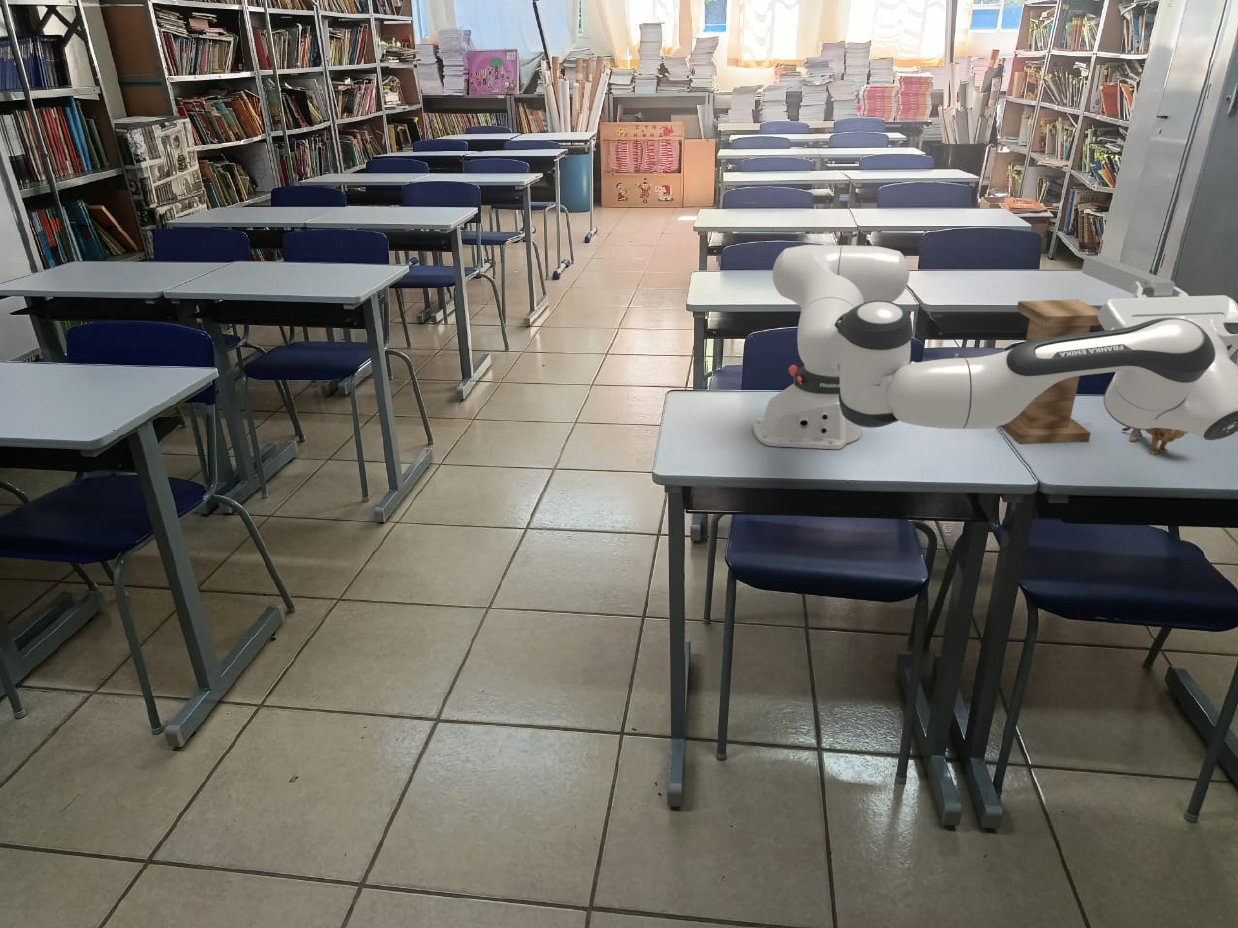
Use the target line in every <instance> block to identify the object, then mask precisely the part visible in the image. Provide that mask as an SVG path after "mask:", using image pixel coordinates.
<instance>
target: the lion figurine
mask: <svg viewBox="0 0 1238 928" xmlns="http://www.w3.org/2000/svg"><path fill="white" fill-rule="evenodd" d="M1131 429H1132V428H1129V427H1123V428H1122V431H1123V432H1126V431H1127V432H1128V431H1130V430H1131ZM1144 431H1145V432H1146V433H1147V434H1148V435H1150V436H1151V445H1150V449H1149V454H1150V455H1153V456H1155V455H1157V454H1158V452H1157V451H1158V450H1159V451H1160V452H1161V453H1165V454H1166V453H1167V452H1168V449H1167V448H1166V445H1167V444H1168V443H1172V442H1175V440H1176V439H1178V440H1179V439H1181V438H1183V437H1185V435H1186V434H1187V435H1188V434H1190V433H1189V432H1185V431H1181V430H1174V429H1165V428H1155V429H1148V430H1144ZM1142 436H1143V433H1142V430H1138V429H1132V430H1131V433H1130V437H1129V442H1131V443H1136V442H1137V438H1136V437H1142ZM1159 441H1161V443H1160V445H1159V448H1158V450H1157V446H1158V444H1159Z"/></svg>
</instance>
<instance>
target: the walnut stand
mask: <svg viewBox="0 0 1238 928" xmlns="http://www.w3.org/2000/svg"><path fill="white" fill-rule="evenodd" d="M1099 311H1100V309H1099V308H1096V307H1094V306H1092V305H1090V304H1088V303H1087V302H1083V301H1082V300H1080V299H1053V300H1049V299H1048V300H1047V299H1045V300H1018V302H1017V307H1016V312H1018V313H1020V314H1021V315H1023V316H1024V317H1027V318H1028V319H1029V322H1028V327H1027V328H1028V329H1027V333H1026V339H1025V343H1027V342H1031V341H1035V340H1040V339H1046V338H1053V337H1060V336H1068V335H1076V334H1083V333H1090V330H1091V326H1102V325H1101V324H1100V322H1099V320H1098V313H1099ZM1080 377H1081V376H1074V377H1070V378H1067V379H1064V380H1062V381H1059V382H1057V383H1055V384H1054V385H1052V386H1051V387H1049V388H1048V389H1046V390H1045V391H1044V392H1042V393H1041V394H1040V395H1039V396H1038V397H1036V398H1035V399H1034V400H1033V401H1032V402H1031V403H1030V404H1029V405H1028V406H1027V407H1026V408H1025V409H1024V410H1023V411H1022V412H1021V413H1020V414H1019V415H1018V416H1017V417H1016V418H1014V419H1013V420H1012V421H1010V422H1008V423H1007V424H1004V425H1001V426H999V427H1000V428H1001V429H1002V430H1003V431H1005V433H1007V434H1008V435H1009V436H1010V437H1011V438H1012V439H1013V440H1015V442H1016V443H1018V444H1020V445H1021V444H1022V445H1024V444H1027V445H1028V444H1056V443H1057V444H1061V443H1063V444H1065V443H1089V442H1090V437H1091V431H1089V430H1088V429H1087V428H1085V427H1084V426H1082V425H1081V424H1080V423H1078V421H1075V419H1073V418H1072V412H1073V408H1074V405H1075V403H1074V402H1075V400H1076V394H1077V390H1078V385H1079V381H1080Z"/></svg>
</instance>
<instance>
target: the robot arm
mask: <svg viewBox="0 0 1238 928" xmlns="http://www.w3.org/2000/svg"><path fill="white" fill-rule="evenodd" d="M909 278H910V266H909V264H908V261H907V259H906V257H905V255H904V254H903V253H902V252H901V251H899V250H895V249H893V248H888V247H883V246H877V245H844V244H843V245H839V244H837V245H836V244H803V245H799V246H798V245H797V246H792V247H786V248H784V249H783V250H782V251H781V252H780V254H779V255H778V256H777V258H776V259H775V262H774V265H773V267H772V281H773V284H774V287H775V289H776V291H777V292H778V294H779V295H780V296H781V297H783V298H785V299H788V300H790V301H792V302H793V303H795V304H797V305H798V306H799V307H800V308H801V309H800V314H799V320H798V325H797V336H796V337H797V338H796V339H797V350H798V351H797V352H798V355H799V357H800V360H801V362H802V363H803V364H804V365H802V367H800V368H799V367H798V366H797V365H795V364H792V365H790V366H789V367H788V373H789V374H790V375H791V377H793V383H792V384H791V385H790V386H788V387H787V388H785V389H784V390H782V391H781V392H779V393H777V394H776V395H774V396H773V397H771V398H770V399H769V400H768V401H767V405H766V406H765V411H764V416H762V417H761V416H760V417H757V418H756V419H755V420H754V422H753V424H752V425H753V426H752V431H753V435H754V436H755V438H756V439H757V440H758V441H759V442H760V443H762V444H764V445H766V446H768V447H782V448H783V447H784V448H801V449H802V448H803V449H823V450H824V449H825V450H840V449H843V448H844V447H845V446H846V445H847V444H850V443H852V442H854V441H857V440H858V439H859V438H861V436H862V430H861V427H862V428H868V429H869V428H870V429H873V428H874V429H875V428H881V427H885V426H889V425H891V424H893V423H897V422H901V423H904V424H908V425H913V426H918V427H923V428H924V427H925V428H933V429H935V428H936V429H945V430H946V429H947V430H983V429H984V430H985V429H991V428H995V427H1000V426H1001V425H1004V424H1007V423H1008V422H1010V421H1012V420H1013V419H1014V418H1016V417H1017V416H1018V415H1019V414H1020V413H1021V412H1022V411H1023V410H1024V409H1025V408H1026V407H1027V406H1028V405H1029V404H1030V403H1031V402H1032V401H1033V400H1034V399H1035V398H1036V397H1038V396H1039V395H1040V394H1041V393H1042V392H1044V391H1045V390H1046V389H1048V388H1049V387H1051V386H1052V385H1054V384H1055V383H1057V382H1059V381H1062V380H1064V379H1067V378H1070V377H1074V376H1080V377H1081V376H1087V375H1089V376H1090V375H1095V374H1096V375H1097V374H1106V373H1115V374H1114V376H1112V379H1111V381H1110V383H1109V384H1108V386H1107V388H1106V391H1105V393H1104V395H1103V405H1104V408H1105V409H1106V411H1107V413H1108V414H1109V416H1110V417H1111V418H1112V419H1113V420H1115V422H1117V423H1118V424H1120V425H1121V426H1125V428H1127V427H1129V428H1131V429H1132V430H1133V429H1138V430H1141V431H1143V430H1144V431H1145V430H1148V429H1155V428H1165V429H1174V430H1181V431H1185V432H1189V433H1188V434H1192V435H1193V436H1196V437H1197V438H1199V439H1201V440H1203V441H1204V440H1205V441H1215V440H1221V439H1224V438H1227V437H1229V436H1232V435H1234V434H1235V433H1237V432H1238V365H1237V364H1236V363H1235V362H1233V360H1231V358H1230V357H1231V356H1233V354H1234V353H1235V352H1236V351H1237V350H1238V304H1237V302H1236V301H1235V300H1234V299H1233V298H1231V297H1229V296H1228V295H1224V294H1221V295H1193V296H1192V295H1189V294H1188V292H1185V291H1184V290H1182V289H1181V288H1179V287H1177V286H1176V284H1175V285H1174V289H1173V293H1172V297H1151V298H1147V297H1146V295H1143V294H1144V293H1145V291H1146V290H1147V288H1148V287H1147V285H1146V284H1145V282H1134V283H1133V284H1132V286H1131V292H1132V293H1131V294H1132V297H1127V298H1126V297H1125V298H1123V297H1122V298H1108V299H1107V300H1106V301H1105V302H1104V304H1103V305H1102V306H1101V308H1100V309H1099V310H1100V311H1099V313H1098V320H1099V322H1100V324H1101V325H1100V326H1102V327H1101V328H1103V330H1099V331H1093V332H1089V333H1083V334H1076V335H1068V336H1060V337H1053V338H1046V339H1040V340H1035V341H1031V342H1027V343H1026V342H1025V343H1022V344H1020V345H1017V346H1015V347H1013V348H1010V349H1007V350H1005V351H1001V352H997V353H994V354H990V355H989V354H988V355H984V356H976V357H975V356H974V357H958V358H955V357H953V358H941V359H933V360H932V359H931V360H926V361H925V360H924V361H919V362H915V361H914V360H913V361H911V350H912V348H911V346H912V343H911V342H912V341H911V339H912V338H913V334H914V333H913V332H914V331H913V323H912V317H911V314H910V313H909V312H908V310H906V309H905V308H904V307H902V306H901V305H899V304H898V303H896V302H895V301H896V300H897V299H898V298H900V297H901V296H902V294H904V292H905V290H906V288H907V285H908V284H909Z"/></svg>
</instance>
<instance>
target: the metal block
mask: <svg viewBox="0 0 1238 928" xmlns="http://www.w3.org/2000/svg"><path fill="white" fill-rule="evenodd" d="M1081 274H1084V275H1086V276H1088V277H1091V278H1093V279H1096V280H1099V281H1100V282H1103V283H1106V284H1108V285H1111V286H1113V287H1116V288H1118V289H1121V290H1123V291H1125V292H1128V293H1130V294H1132V292H1131V286H1132V284H1133V283H1134V282H1145V284H1146V285H1147V287H1148V288H1147V290H1146V291H1145V293H1144V294H1143V295H1146V297H1147V298H1151V297H1172V293H1173V289H1174V285H1175V286H1176V282H1175V281H1173V280H1169V279H1167V278H1164V277H1162V276H1158V275H1156V274H1152V273H1150V272H1148V271H1144V270H1142V269H1139V268H1136V267H1134V266H1130V265H1128V264H1125V263H1123V262H1119V261H1116V260H1114V259H1111V258H1109V257H1106V256H1103V255H1088V256H1087V255H1085V256H1084V259H1083V264H1082V269H1081Z"/></svg>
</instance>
